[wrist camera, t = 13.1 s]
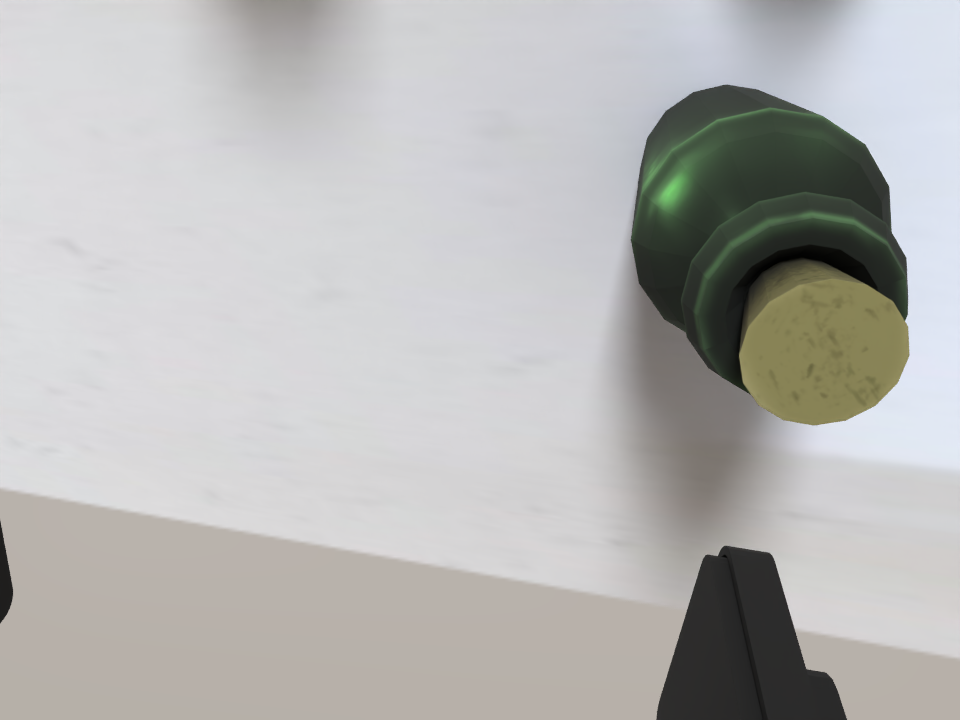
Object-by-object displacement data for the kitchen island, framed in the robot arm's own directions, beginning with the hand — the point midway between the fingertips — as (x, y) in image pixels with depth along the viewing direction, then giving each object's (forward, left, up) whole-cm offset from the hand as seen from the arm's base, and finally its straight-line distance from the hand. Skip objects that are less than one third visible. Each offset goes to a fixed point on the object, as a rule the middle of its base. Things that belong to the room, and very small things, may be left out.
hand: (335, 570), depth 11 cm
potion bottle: (+4, -8, -28) cm, 30 cm away
